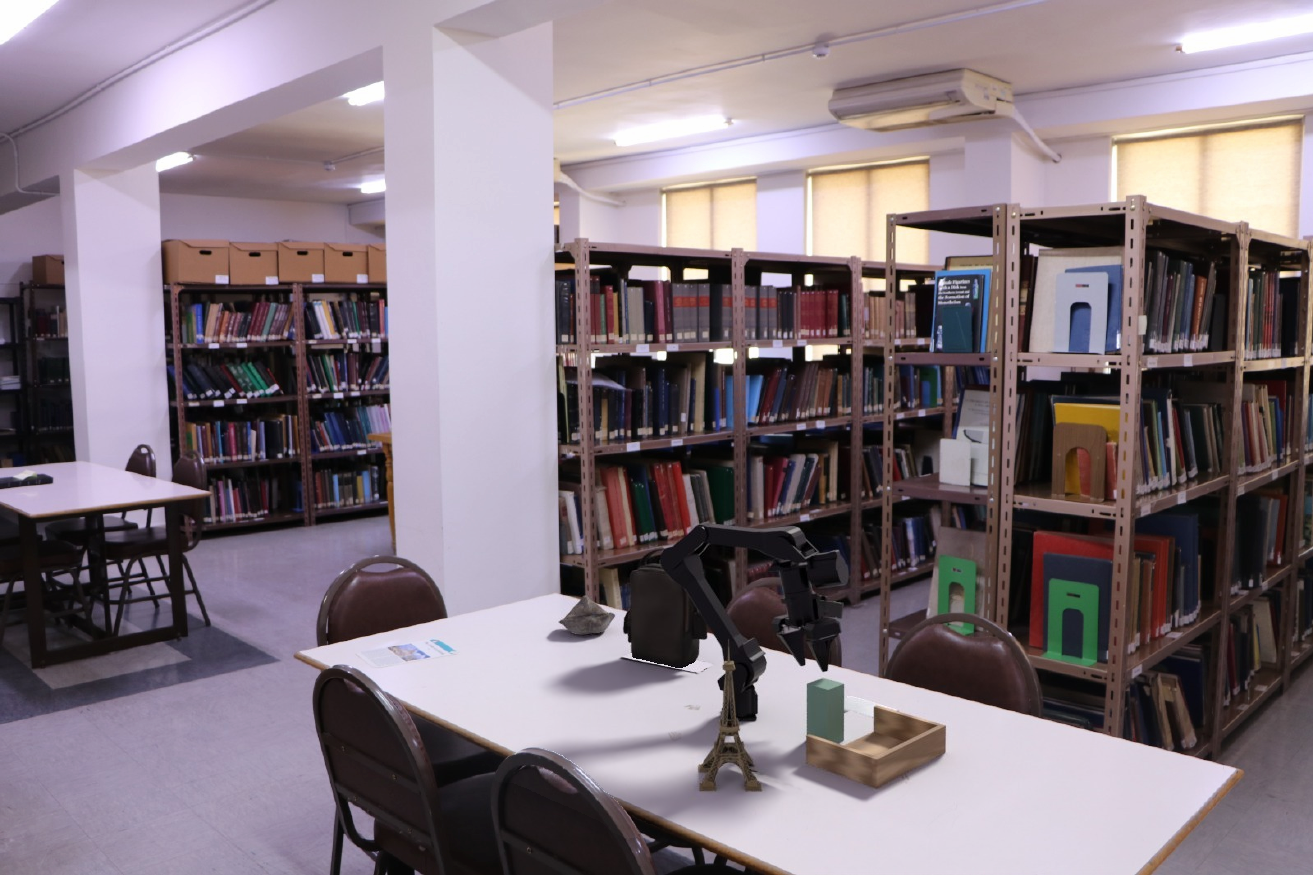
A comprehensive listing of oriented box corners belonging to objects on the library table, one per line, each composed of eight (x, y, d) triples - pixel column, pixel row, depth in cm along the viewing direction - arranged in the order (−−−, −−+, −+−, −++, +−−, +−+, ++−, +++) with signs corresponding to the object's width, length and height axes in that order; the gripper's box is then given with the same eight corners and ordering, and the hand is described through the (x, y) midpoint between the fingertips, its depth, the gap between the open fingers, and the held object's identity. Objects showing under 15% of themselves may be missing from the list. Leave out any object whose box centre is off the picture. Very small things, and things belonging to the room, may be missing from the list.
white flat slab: (826, 703, 209) (876, 718, 200) (850, 694, 215) (899, 708, 206) (826, 711, 209) (876, 726, 200) (850, 702, 215) (899, 716, 206)
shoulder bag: (717, 664, 240) (717, 549, 238) (697, 674, 233) (697, 555, 230) (640, 649, 253) (639, 540, 250) (619, 658, 245) (617, 546, 243)
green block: (806, 745, 190) (806, 683, 189) (822, 738, 193) (822, 677, 192) (827, 752, 186) (828, 690, 185) (843, 745, 190) (844, 683, 189)
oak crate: (806, 768, 179) (806, 735, 179) (876, 735, 194) (876, 705, 194) (876, 794, 168) (877, 759, 168) (945, 757, 183) (946, 725, 183)
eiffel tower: (698, 766, 181) (697, 631, 179) (757, 766, 181) (756, 630, 178) (699, 791, 170) (698, 648, 168) (761, 791, 170) (761, 648, 168)
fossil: (552, 638, 264) (551, 601, 263) (565, 624, 278) (565, 588, 277) (608, 640, 261) (608, 602, 260) (619, 625, 275) (619, 590, 274)
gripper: (856, 583, 191) (873, 663, 190) (810, 579, 208) (826, 653, 208) (806, 596, 187) (823, 679, 187) (763, 591, 205) (779, 666, 204)
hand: (813, 668), depth 196 cm, fingers open, 9 cm apart
